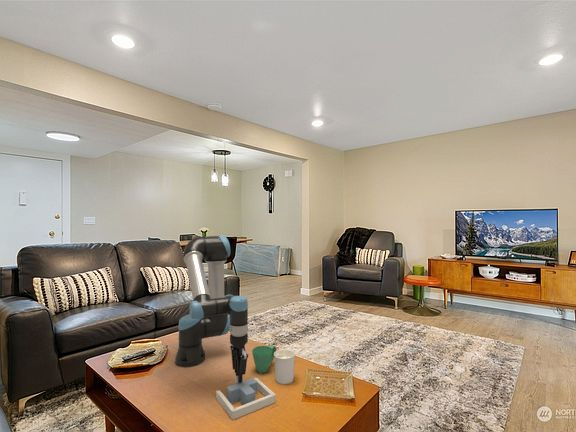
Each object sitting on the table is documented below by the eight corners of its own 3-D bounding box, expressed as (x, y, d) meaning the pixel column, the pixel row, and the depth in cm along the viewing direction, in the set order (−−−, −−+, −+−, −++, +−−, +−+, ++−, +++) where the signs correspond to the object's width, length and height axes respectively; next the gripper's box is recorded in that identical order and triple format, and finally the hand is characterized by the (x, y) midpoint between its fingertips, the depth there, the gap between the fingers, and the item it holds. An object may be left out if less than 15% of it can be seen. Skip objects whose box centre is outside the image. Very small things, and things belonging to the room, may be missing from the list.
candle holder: (298, 376, 144) (298, 351, 144) (289, 387, 135) (289, 360, 135) (279, 372, 148) (279, 347, 148) (270, 382, 139) (270, 356, 139)
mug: (263, 377, 143) (263, 356, 143) (248, 371, 148) (247, 351, 148) (282, 365, 155) (282, 345, 155) (267, 360, 160) (267, 341, 160)
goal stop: (216, 398, 127) (216, 391, 127) (256, 384, 137) (256, 377, 137) (232, 420, 113) (232, 411, 113) (275, 402, 124) (275, 394, 124)
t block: (226, 399, 126) (226, 386, 126) (252, 389, 133) (252, 378, 133) (237, 411, 118) (237, 398, 118) (264, 400, 125) (264, 388, 125)
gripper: (224, 330, 134) (224, 384, 134) (237, 340, 123) (237, 399, 123) (240, 327, 138) (240, 379, 138) (253, 336, 127) (254, 393, 127)
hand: (239, 388), depth 131 cm, fingers closed
